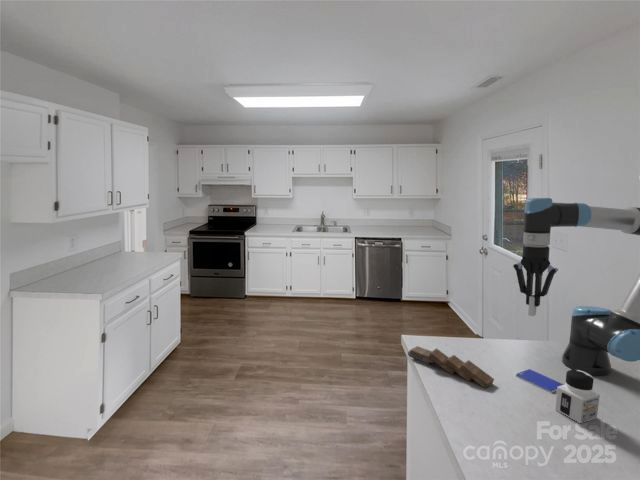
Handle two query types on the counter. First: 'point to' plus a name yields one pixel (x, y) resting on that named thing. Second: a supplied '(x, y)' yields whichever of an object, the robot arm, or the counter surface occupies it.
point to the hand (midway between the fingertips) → (532, 314)
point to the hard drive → (539, 380)
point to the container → (577, 397)
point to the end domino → (418, 358)
